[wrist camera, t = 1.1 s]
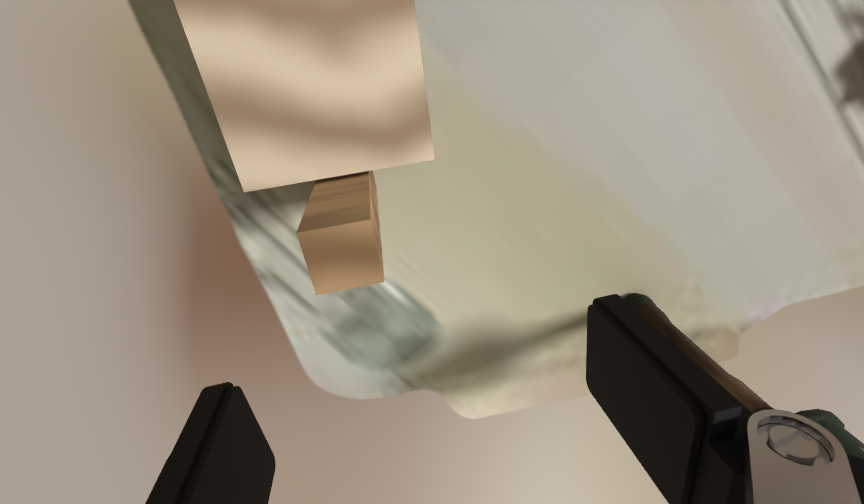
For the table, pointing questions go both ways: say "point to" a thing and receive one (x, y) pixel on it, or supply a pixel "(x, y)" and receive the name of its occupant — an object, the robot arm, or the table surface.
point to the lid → (312, 85)
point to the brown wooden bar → (342, 233)
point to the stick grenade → (733, 384)
